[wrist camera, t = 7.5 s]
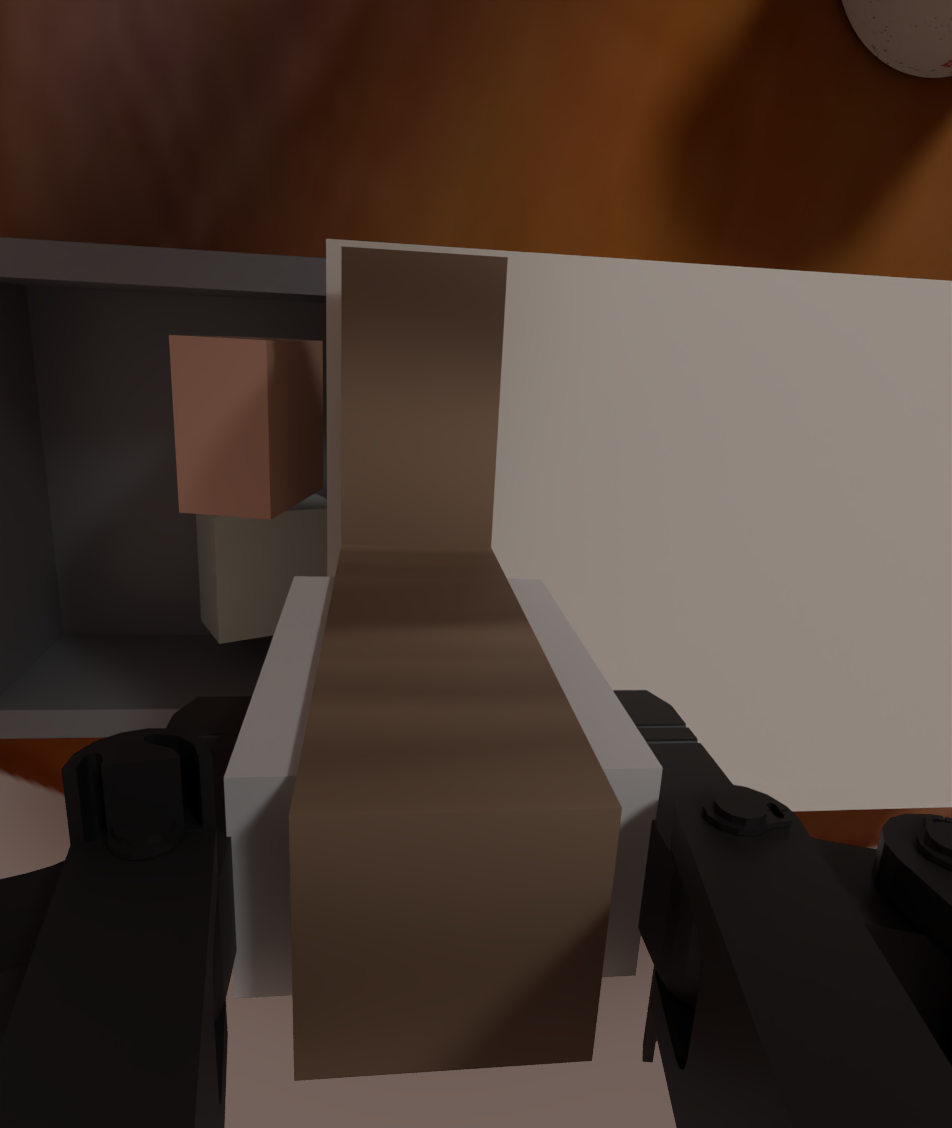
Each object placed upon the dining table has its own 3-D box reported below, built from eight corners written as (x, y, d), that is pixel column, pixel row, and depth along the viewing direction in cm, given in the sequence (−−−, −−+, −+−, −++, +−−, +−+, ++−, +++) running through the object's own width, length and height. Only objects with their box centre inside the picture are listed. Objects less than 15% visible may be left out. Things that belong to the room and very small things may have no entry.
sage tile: (342, 506, 28) (316, 493, 30) (213, 516, 25) (195, 501, 27) (341, 624, 29) (316, 604, 31) (219, 643, 27) (200, 620, 29)
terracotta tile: (322, 340, 23) (242, 336, 23) (266, 340, 19) (168, 334, 19) (323, 488, 24) (247, 483, 25) (270, 519, 20) (179, 512, 20)
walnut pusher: (348, 261, 17) (272, 105, 5) (486, 269, 17) (701, 143, 6) (346, 822, 21) (301, 1437, 9) (459, 819, 21) (550, 1406, 10)
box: (-1, 254, 27) (-126, 228, 20) (469, 283, 29) (495, 269, 22) (45, 652, 31) (-46, 739, 24) (452, 652, 33) (470, 732, 27)
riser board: (347, 275, 28) (325, 238, 17) (851, 307, 31) (1126, 293, 20) (346, 652, 33) (328, 824, 21) (789, 652, 35) (985, 806, 24)
